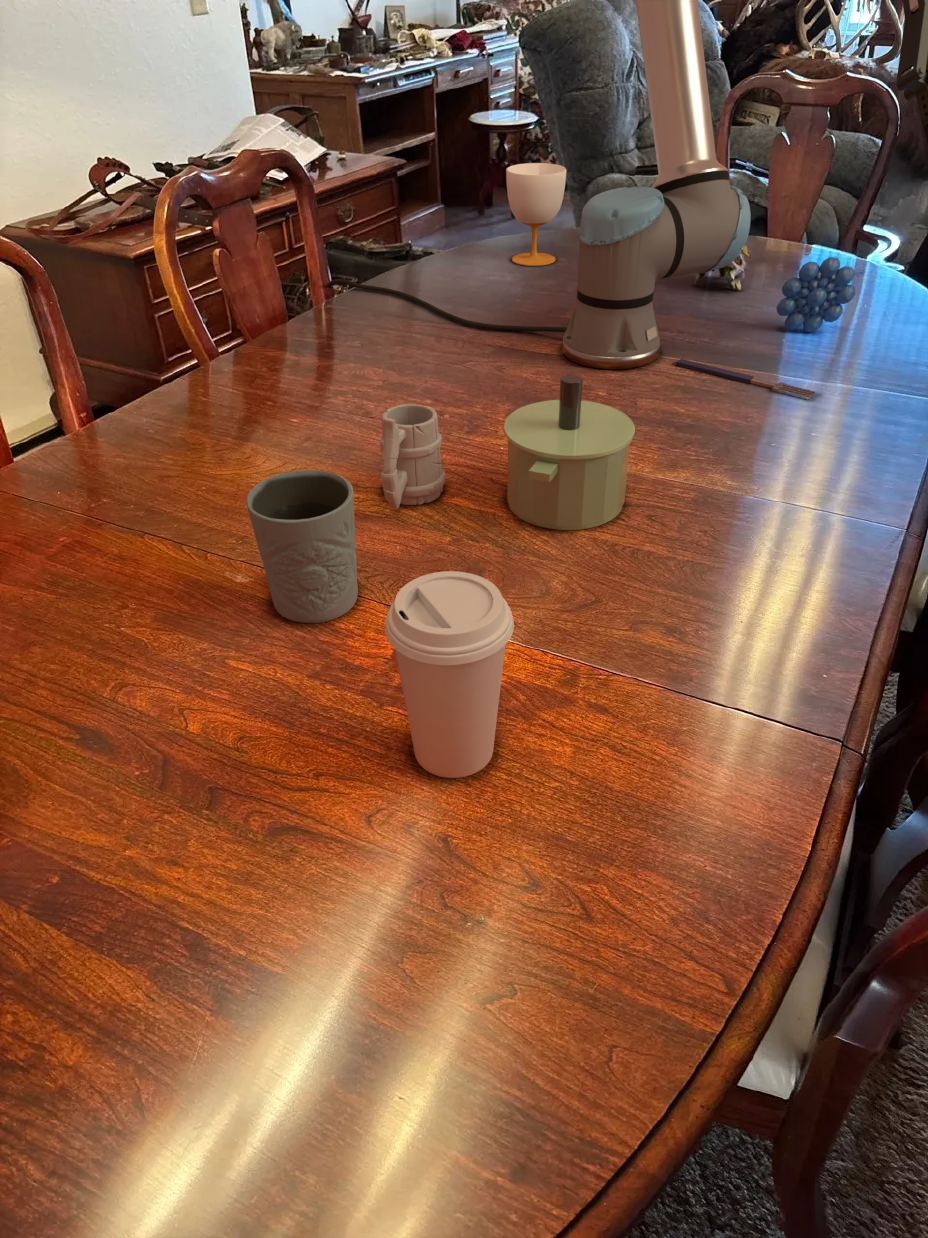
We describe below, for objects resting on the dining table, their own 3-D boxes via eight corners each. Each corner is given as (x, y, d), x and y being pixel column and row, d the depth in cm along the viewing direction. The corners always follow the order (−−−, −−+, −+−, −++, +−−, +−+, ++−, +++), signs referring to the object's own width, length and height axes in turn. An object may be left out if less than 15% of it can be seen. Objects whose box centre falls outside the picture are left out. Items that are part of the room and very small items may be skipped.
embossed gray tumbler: (321, 639, 88) (306, 531, 81) (242, 608, 92) (221, 502, 85) (383, 587, 95) (375, 483, 88) (308, 560, 99) (293, 459, 92)
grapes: (841, 324, 155) (858, 250, 148) (848, 338, 149) (866, 262, 142) (770, 321, 157) (783, 248, 149) (773, 335, 151) (788, 259, 144)
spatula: (674, 366, 141) (674, 362, 141) (682, 361, 143) (682, 357, 143) (807, 399, 130) (808, 395, 130) (815, 393, 132) (816, 389, 132)
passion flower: (730, 318, 174) (749, 277, 162) (674, 304, 175) (689, 262, 163) (743, 270, 177) (762, 226, 166) (688, 256, 178) (703, 212, 166)
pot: (480, 527, 104) (479, 455, 99) (538, 456, 118) (541, 389, 112) (596, 552, 99) (602, 477, 94) (642, 475, 113) (650, 406, 108)
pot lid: (483, 450, 101) (483, 393, 97) (530, 400, 111) (532, 347, 107) (612, 474, 96) (617, 415, 92) (648, 419, 106) (655, 364, 103)
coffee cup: (394, 714, 79) (381, 569, 70) (504, 706, 80) (506, 561, 71) (397, 797, 72) (383, 646, 63) (519, 788, 72) (522, 636, 63)
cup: (501, 267, 185) (502, 174, 175) (508, 251, 194) (509, 162, 184) (559, 268, 183) (564, 175, 173) (564, 252, 192) (568, 163, 182)
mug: (453, 480, 113) (451, 387, 106) (421, 528, 104) (416, 430, 97) (395, 472, 115) (389, 380, 108) (359, 518, 106) (349, 422, 99)
